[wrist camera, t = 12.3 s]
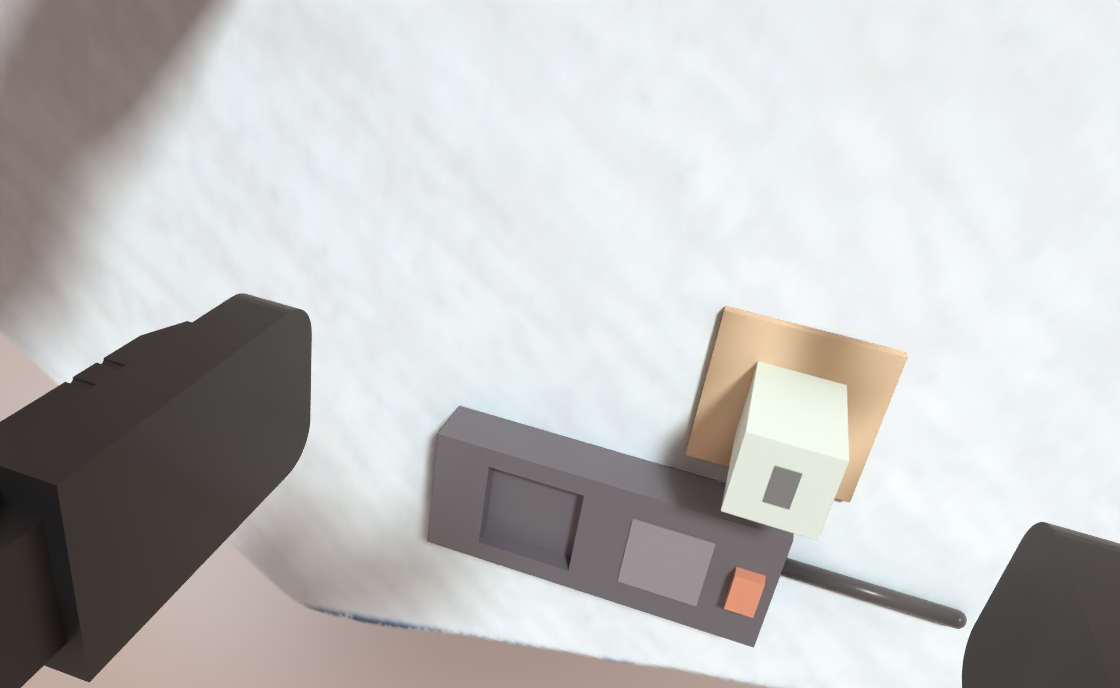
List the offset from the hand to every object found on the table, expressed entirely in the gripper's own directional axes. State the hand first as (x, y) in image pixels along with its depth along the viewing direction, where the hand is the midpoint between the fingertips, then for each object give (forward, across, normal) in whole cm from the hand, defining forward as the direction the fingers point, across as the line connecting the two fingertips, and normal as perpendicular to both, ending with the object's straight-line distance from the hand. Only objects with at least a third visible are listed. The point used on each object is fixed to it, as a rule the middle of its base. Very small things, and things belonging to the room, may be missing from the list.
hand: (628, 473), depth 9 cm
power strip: (+33, -3, +27) cm, 42 cm away
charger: (+32, -6, +17) cm, 36 cm away
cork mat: (+32, -5, +17) cm, 37 cm away
